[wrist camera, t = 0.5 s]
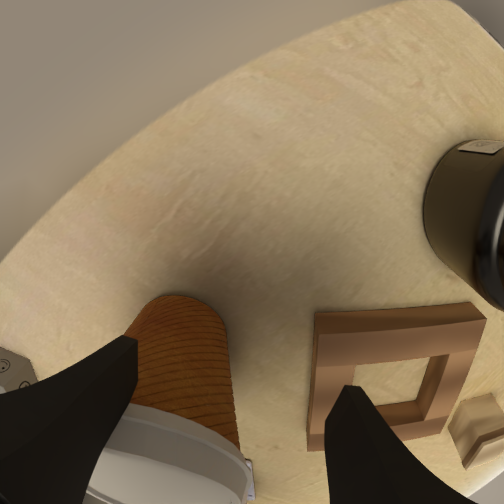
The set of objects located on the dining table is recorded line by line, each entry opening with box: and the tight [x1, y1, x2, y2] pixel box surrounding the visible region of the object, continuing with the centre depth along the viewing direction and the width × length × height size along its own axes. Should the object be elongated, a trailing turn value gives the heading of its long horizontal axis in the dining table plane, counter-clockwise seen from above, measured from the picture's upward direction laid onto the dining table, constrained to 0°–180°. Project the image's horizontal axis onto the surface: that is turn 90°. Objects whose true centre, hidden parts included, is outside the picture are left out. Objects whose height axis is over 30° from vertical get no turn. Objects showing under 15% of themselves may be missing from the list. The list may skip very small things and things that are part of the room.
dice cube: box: [0, 347, 38, 394], centre depth 24 cm, size 5×5×5 cm
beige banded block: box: [448, 393, 504, 470], centre depth 20 cm, size 4×4×6 cm
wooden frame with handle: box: [306, 302, 487, 452], centre depth 21 cm, size 19×12×2 cm, turn 3°
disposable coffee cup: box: [86, 295, 253, 504], centre depth 15 cm, size 10×10×12 cm
